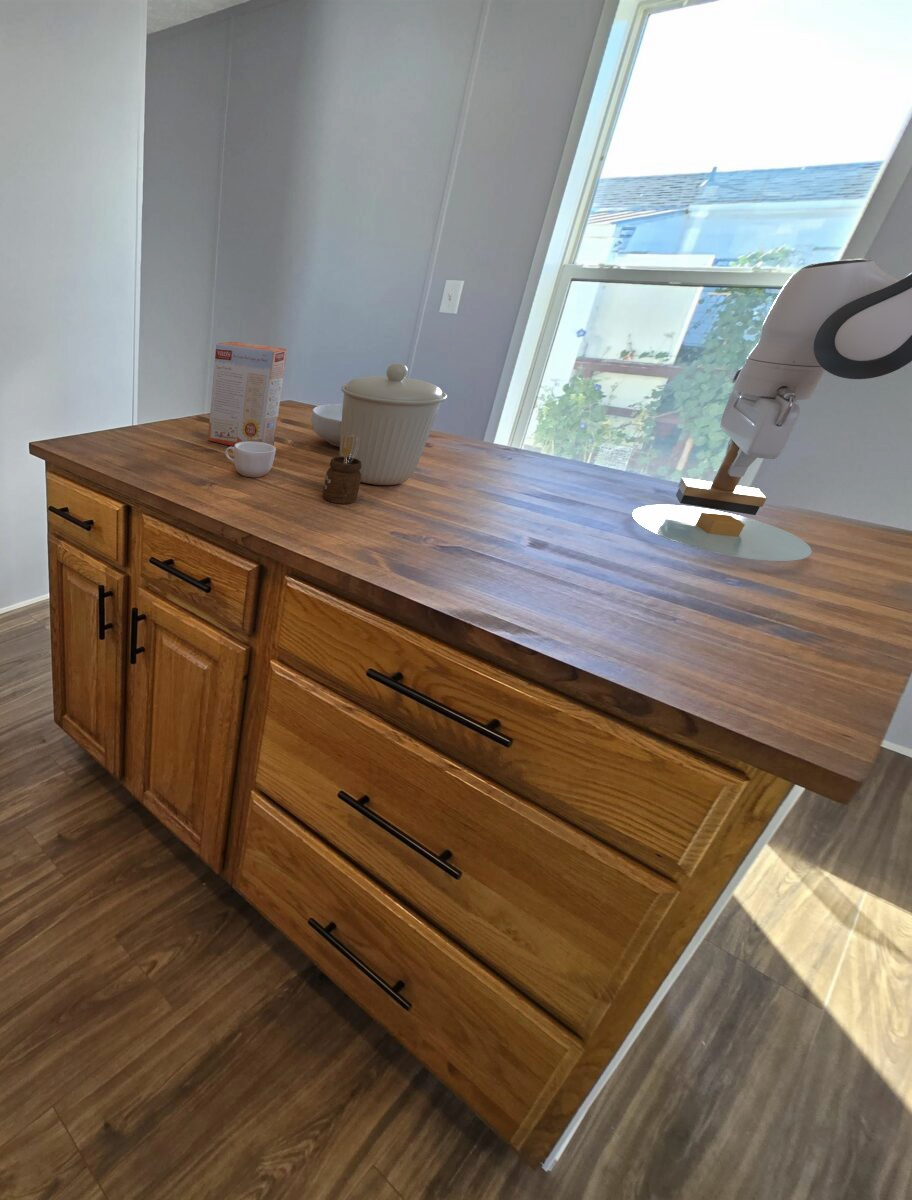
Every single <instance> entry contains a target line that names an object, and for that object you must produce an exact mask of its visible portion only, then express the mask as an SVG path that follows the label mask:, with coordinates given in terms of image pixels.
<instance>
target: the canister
mask: <svg viewBox="0 0 912 1200" xmlns="http://www.w3.org/2000/svg"><path fill="white" fill-rule="evenodd" d="M408 369H409V368H408V367H407V365H405V364H403V363H392V364H390V365H389V366H388V367H387V368H386V375H369V376H360V377H356V378H353V379H351V380H350V381H349V382H346V383H344V384H342V385H341V386H340V391H341V392H342V393H343V397H342V398H343V399H342V400H343V401H342V404H343V409H342V423H341V436H340V447H339V457H341V456H343V457H344V454H343V453H342V452H341V451H342V445H343V438H344V436H346V438H345V442H346V443H345V445H344V446H345V447H344V448H346V444H347V440H346V439H347V437H348V436H349V438H350V439H349V444H348V448H350V443H351V437H353V441H354V442H353V443H352V445H353V447H352V449H351V450H352V451H351V453H350V454H351V455H350V454H348V455H347V457H352V458H356V459H358V460H360V461H361V469H360V470H359V471H360V473H361V481H360V483H363V484H368V485H374V486H375V485H376V486H393V485H395V486H396V485H399V484H403V483H405V482H407V481H408V480H409V479H410V478H411V477H412V476H413V474H414V473H415V471H416V469H417V467H418V464H419V461H420V459H421V457H422V455H423V453H424V449H425V447H426V444H427V441H428V439H429V437H430V434H431V431H432V428H433V425H434V423H435V421H436V419H437V415H438V412H439V410H440V407H441V404H442V402H444V401H446V399H447V398H448V395H447V393H446V392H444V391H442V389H441V388H440V387H439V386H437V385H435V384H434V383H431V382H428V381H425V380H421V379H416V378H411V377H407V376H408V373H409V370H408ZM350 435H352V436H350ZM355 435H356V436H355ZM357 436H358V438H356V437H357ZM359 440H360V442H359ZM356 443H357V444H358V445H356ZM358 446H359V448H358ZM355 448H356V449H357V450H356V449H355ZM354 452H355V453H354ZM356 453H357V454H356ZM353 454H355V455H353ZM353 456H354V457H353Z"/></svg>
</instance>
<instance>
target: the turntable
mask: <svg viewBox="0 0 912 1200" xmlns="http://www.w3.org/2000/svg"><path fill="white" fill-rule="evenodd" d="M702 512H703V513H713V514H724V515H731V516H733V517H734V518H736V519H737V520H739V521H740V522H742V523H743V524H745V525H744V527H743V529H742V531H741V533H740V535H739V536H729V535H719V534H709V533H707V532H706V531H705V530H703V529H702V528H701V527H699V526H698V525H697V524H696V523H697V521H698V519H699V517H700V515H701V513H702ZM631 517H632V519H633V520H634V522H636V523H637V524H638V525H639V526H641V527H642V528H644V529H646V530H647V531H649V532H651V533H653V534H656V535H657V536H660V537H662V538H665V539H667V540H670V541H672V542H675V543H678V544H682V545H685V546H688V547H691V548H693V549H694V548H695V549H698V550H702V551H705V552H710V553H714V554H719V555H723V556H729V557H735V558H741V559H747V560H756V561H766V562H792V561H793V562H794V561H800V560H804V559H807V558H809V557H810V556H811V555H812V552H813V551H812V547H810V545H809V544H808V543H807V542H806V541H804V540H803V539H802V538H800V537H798V536H796V535H794V534H793V533H790V532H789V531H787V530H783V529H781V528H779V527H777V526H774V525H771V524H768V523H766V522H763V521H761V520H757V519H752V518H749V517H746V516H742V515H737V514H734V513H729V512H727V511H725V512H724V511H722V510H717V509H711V508H705V507H698V506H690V505H678V504H677V505H676V504H651V505H644V506H639V507H637V508H635V509H633V511H632V512H631Z"/></svg>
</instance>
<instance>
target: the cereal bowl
mask: <svg viewBox="0 0 912 1200" xmlns="http://www.w3.org/2000/svg"><path fill="white" fill-rule="evenodd" d="M342 409H343V403H327V404H320V405H318V406H315V407H314V408H312V410H311V418H310V419H311V427H312V430H313V431H314V433H315V434H316V435H317V436H318V437H320V439H322V440H324V441H327V443H328V444H329V445H332V446H334V447H337V448H340V436H341V423H342Z"/></svg>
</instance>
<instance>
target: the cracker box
mask: <svg viewBox="0 0 912 1200" xmlns="http://www.w3.org/2000/svg"><path fill="white" fill-rule="evenodd" d="M287 352H288V348H286V347H276V346H270V345H265V344H264V345H262V344H255V343H247V342H239V341H224V342H219V343H216V345H215V353H214V356H215V357H214V367H213V377H212V388H211V400H210V411H209V422H208V432H207V441H209V442H212V443H216V444H221V445H226V446H229V447H235V444H236V443H239V442H246V441H253V442H262V443H267V444H270V445H273V446H274V447H275V439H276V432H277V426H278V418H279V410H280V404H281V397H282V389H283V382H284V375H285V367H286V359H287Z"/></svg>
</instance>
